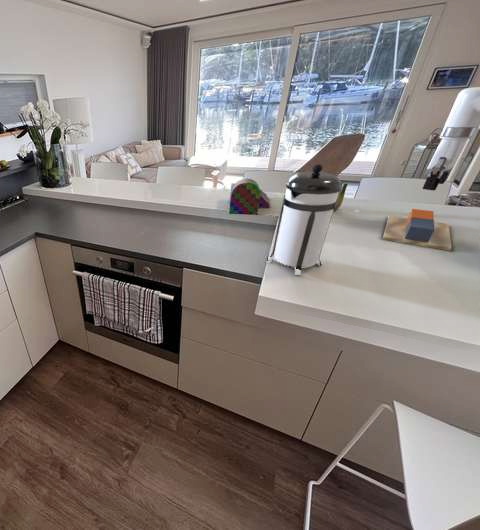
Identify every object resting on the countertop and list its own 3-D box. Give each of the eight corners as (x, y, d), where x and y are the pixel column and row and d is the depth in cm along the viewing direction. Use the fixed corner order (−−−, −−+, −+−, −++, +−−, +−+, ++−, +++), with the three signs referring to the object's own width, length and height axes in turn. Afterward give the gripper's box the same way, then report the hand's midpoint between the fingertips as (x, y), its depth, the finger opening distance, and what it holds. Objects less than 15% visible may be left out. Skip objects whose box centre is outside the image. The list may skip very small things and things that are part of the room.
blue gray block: (427, 232, 96) (434, 220, 94) (427, 242, 91) (434, 229, 89) (405, 229, 100) (411, 217, 98) (404, 238, 94) (410, 226, 92)
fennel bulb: (341, 210, 121) (350, 182, 115) (331, 212, 120) (339, 183, 114) (329, 206, 126) (337, 178, 120) (320, 208, 125) (327, 180, 119)
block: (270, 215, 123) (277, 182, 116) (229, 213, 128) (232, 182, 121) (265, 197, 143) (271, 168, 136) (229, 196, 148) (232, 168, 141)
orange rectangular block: (427, 223, 102) (433, 211, 100) (427, 232, 97) (433, 219, 95) (406, 220, 106) (412, 208, 103) (405, 228, 100) (411, 216, 98)
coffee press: (330, 280, 80) (367, 171, 65) (266, 272, 86) (287, 170, 71) (320, 252, 94) (349, 156, 78) (266, 247, 100) (283, 156, 84)
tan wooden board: (447, 226, 101) (448, 223, 101) (450, 250, 88) (451, 247, 87) (388, 218, 111) (389, 215, 110) (382, 239, 97) (383, 236, 97)
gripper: (449, 128, 97) (426, 179, 106) (433, 136, 89) (410, 190, 98) (482, 129, 92) (455, 182, 100) (468, 137, 84) (440, 194, 92)
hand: (433, 186), depth 99 cm, fingers open, 9 cm apart
